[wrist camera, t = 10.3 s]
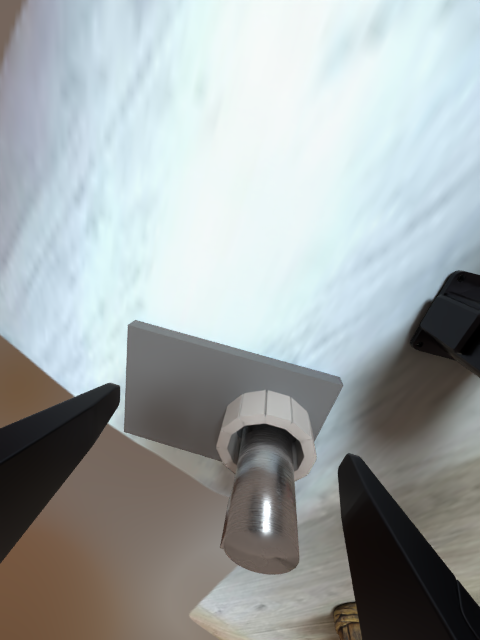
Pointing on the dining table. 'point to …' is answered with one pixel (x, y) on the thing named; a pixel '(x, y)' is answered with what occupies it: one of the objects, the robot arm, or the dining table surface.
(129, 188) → the dining table surface
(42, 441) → the robot arm
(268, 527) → the brushed steel cylinder
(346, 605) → the wooden mug
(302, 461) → the duct plate
